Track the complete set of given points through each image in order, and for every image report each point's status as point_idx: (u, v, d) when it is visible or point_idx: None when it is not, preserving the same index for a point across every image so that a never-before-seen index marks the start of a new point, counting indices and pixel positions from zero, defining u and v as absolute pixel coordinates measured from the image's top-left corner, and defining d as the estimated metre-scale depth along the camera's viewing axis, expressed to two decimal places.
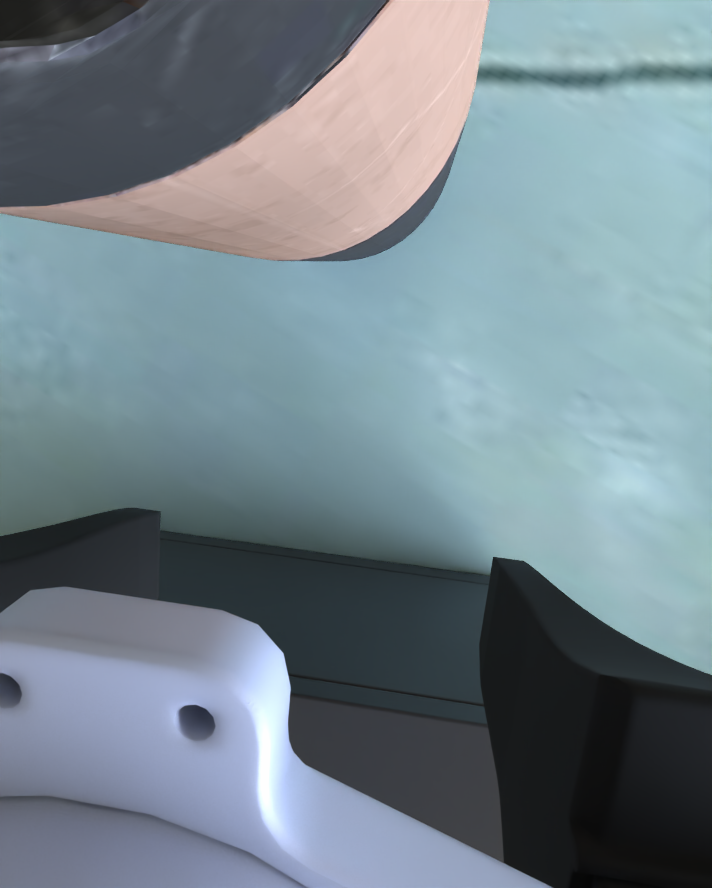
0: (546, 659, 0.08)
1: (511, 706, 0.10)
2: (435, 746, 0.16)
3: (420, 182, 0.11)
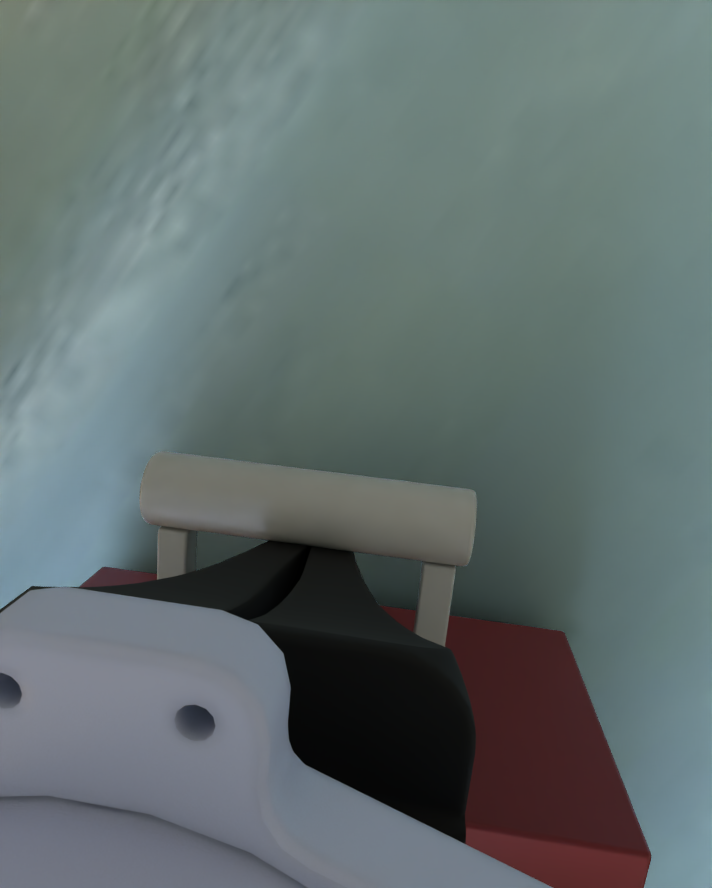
0: None
1: None
2: None
3: None
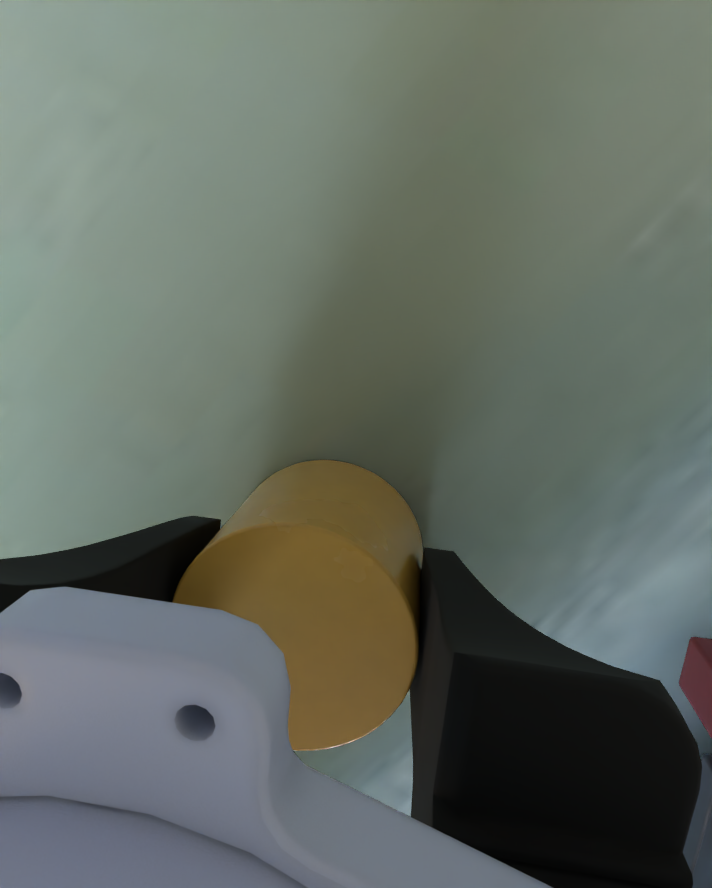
0: (439, 643, 0.09)
1: (423, 692, 0.10)
2: None
3: None
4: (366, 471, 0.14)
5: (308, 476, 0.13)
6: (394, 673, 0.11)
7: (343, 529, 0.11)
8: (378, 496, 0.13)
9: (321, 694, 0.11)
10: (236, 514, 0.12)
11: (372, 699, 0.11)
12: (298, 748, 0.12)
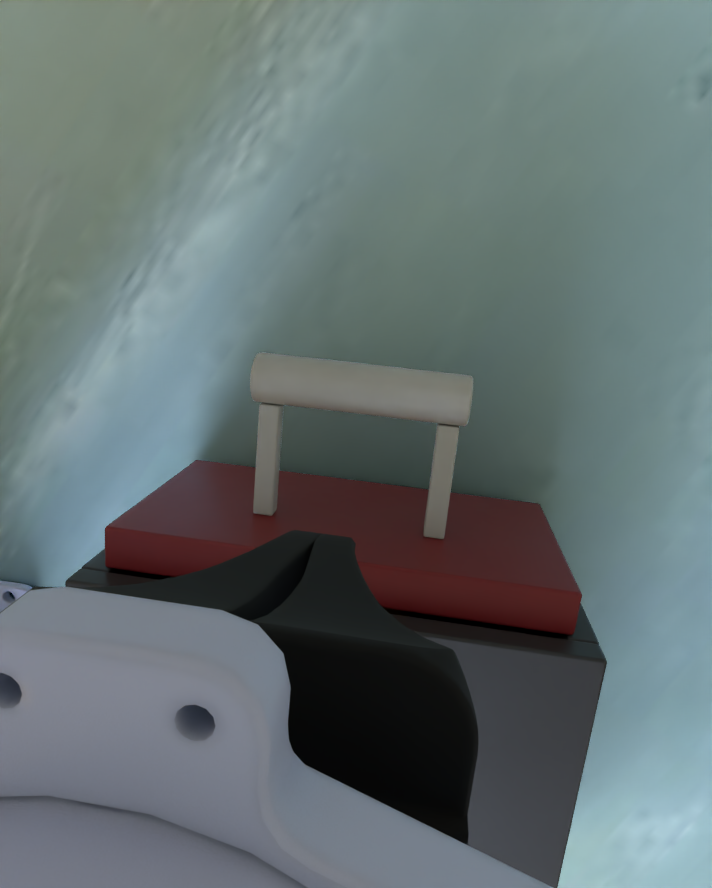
0: None
1: None
2: None
3: None
4: None
5: None
6: None
7: None
8: None
9: None
10: None
11: None
12: None
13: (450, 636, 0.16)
